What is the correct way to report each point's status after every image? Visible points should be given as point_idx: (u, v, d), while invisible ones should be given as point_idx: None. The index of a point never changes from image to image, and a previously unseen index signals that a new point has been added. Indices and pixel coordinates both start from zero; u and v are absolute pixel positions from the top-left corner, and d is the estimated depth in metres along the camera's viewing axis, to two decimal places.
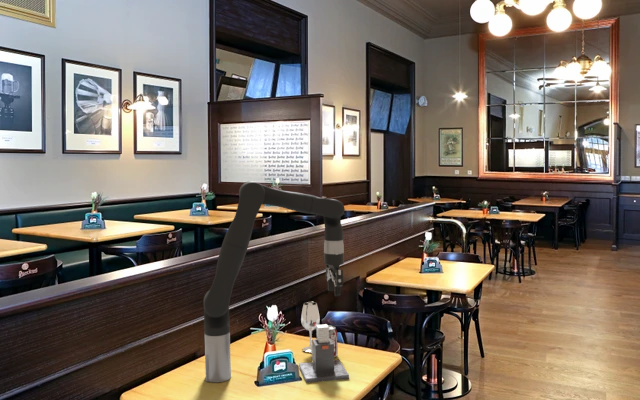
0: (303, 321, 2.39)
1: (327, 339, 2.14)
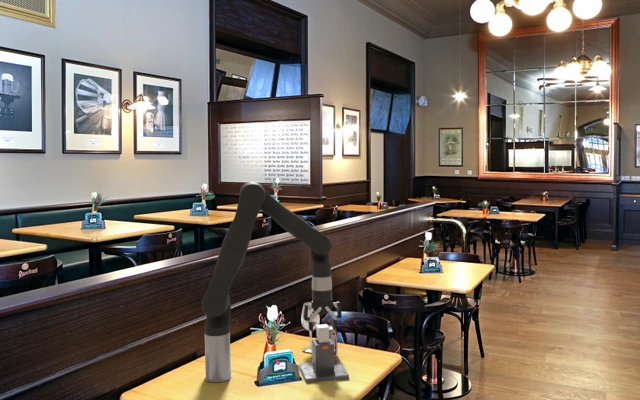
0: (303, 321, 2.39)
1: (327, 339, 2.14)
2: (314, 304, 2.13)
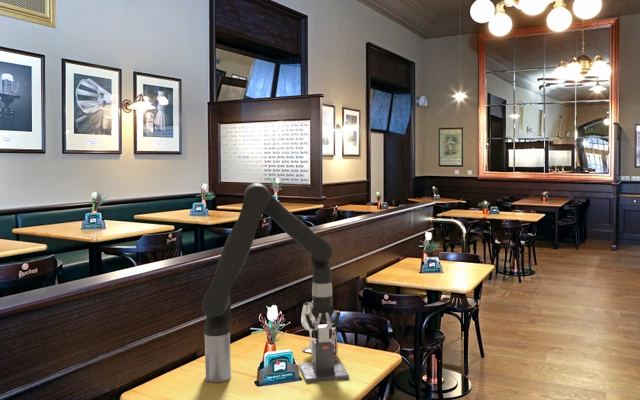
0: (303, 321, 2.39)
1: (327, 339, 2.14)
2: (314, 310, 2.13)
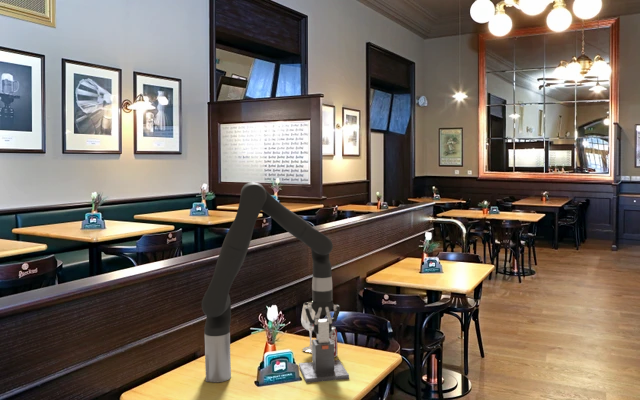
0: (303, 321, 2.39)
1: (327, 333, 2.14)
2: (314, 305, 2.13)
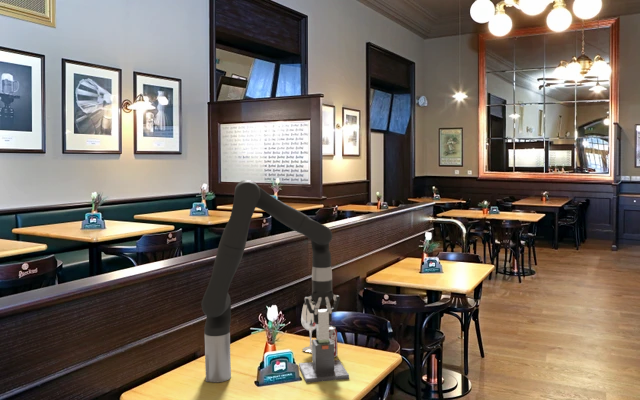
0: (303, 321, 2.39)
1: (327, 323, 2.14)
2: (313, 295, 2.13)
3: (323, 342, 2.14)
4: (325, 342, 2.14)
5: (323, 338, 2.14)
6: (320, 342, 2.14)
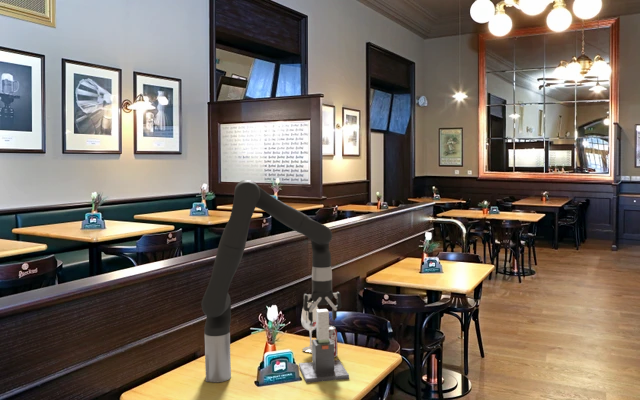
0: (303, 321, 2.39)
1: (327, 323, 2.14)
2: (314, 294, 2.13)
3: (323, 342, 2.14)
4: (325, 342, 2.14)
5: (323, 338, 2.14)
6: (320, 342, 2.14)
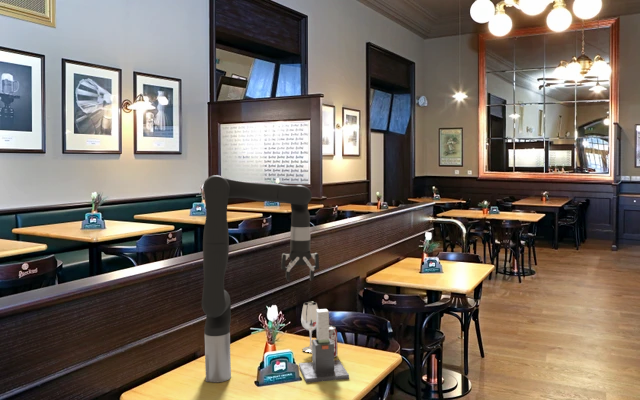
0: (303, 321, 2.39)
1: (327, 323, 2.14)
2: (292, 254, 2.15)
3: (323, 342, 2.14)
4: (325, 342, 2.14)
5: (323, 338, 2.14)
6: (320, 342, 2.14)
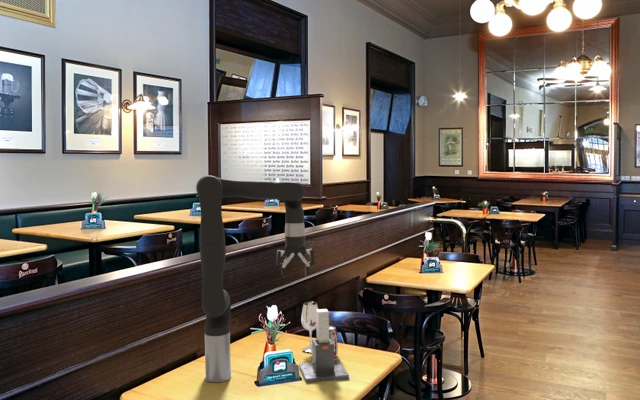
0: (303, 321, 2.39)
1: (327, 323, 2.14)
2: (287, 250, 2.16)
3: (323, 342, 2.14)
4: (325, 342, 2.14)
5: (323, 338, 2.14)
6: (320, 342, 2.14)
